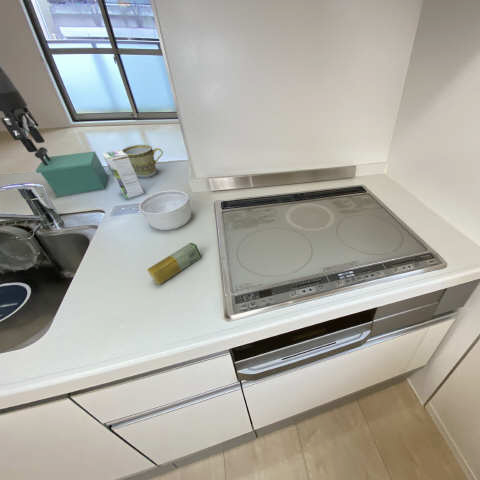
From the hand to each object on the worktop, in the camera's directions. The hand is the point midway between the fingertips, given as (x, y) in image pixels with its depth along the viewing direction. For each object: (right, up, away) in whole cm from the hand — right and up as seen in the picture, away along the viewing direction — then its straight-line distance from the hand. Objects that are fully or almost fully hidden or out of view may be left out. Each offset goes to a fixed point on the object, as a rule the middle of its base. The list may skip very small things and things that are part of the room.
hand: (37, 146), depth 83 cm
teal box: (+4, -10, +12) cm, 16 cm away
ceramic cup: (+23, -3, +21) cm, 31 cm away
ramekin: (+45, -24, -3) cm, 51 cm away
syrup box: (+25, -14, +9) cm, 30 cm away
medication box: (+56, -38, -18) cm, 70 cm away
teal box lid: (+4, -3, +6) cm, 8 cm away
